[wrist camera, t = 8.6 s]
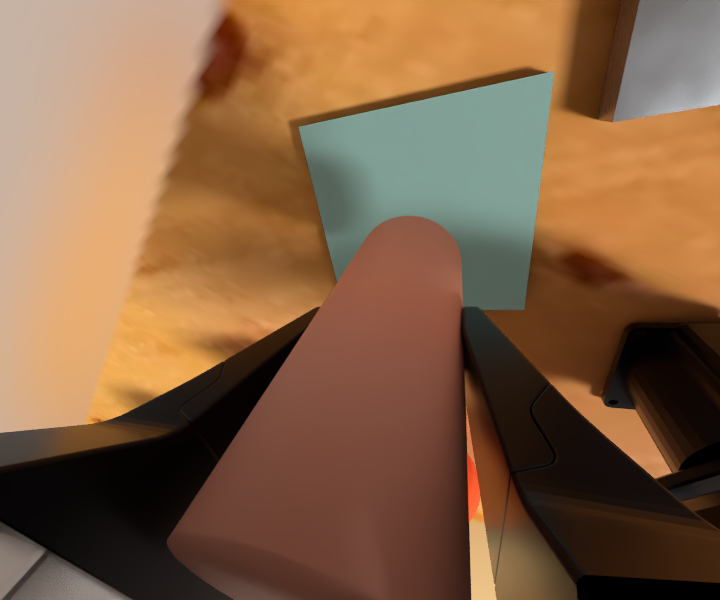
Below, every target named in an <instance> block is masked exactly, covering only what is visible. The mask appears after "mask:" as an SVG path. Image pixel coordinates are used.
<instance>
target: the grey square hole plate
mask: <svg viewBox="0 0 720 600" xmlns="http://www.w3.org/2000/svg"><path fill="white" fill-rule="evenodd" d="M715 105H720V0H621V4H620V9H619V14H618V19H617V24H616V29H615V34H614V39H613V44H612V49H611V54H610V59H609V64H608V69H607V74H606V79H605V84H604V90H603V95H602V100H601V105H600V110H599V115H598V120H601V121H608V122H616V121H623V120H629V119H635V118H641V117H647V116H653V115H659V114H666V113H672V112H678V111H684V110H690V109H696V108H702V107H709V106H715Z"/></svg>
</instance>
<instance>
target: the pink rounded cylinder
mask: <svg viewBox="0 0 720 600" xmlns="http://www.w3.org/2000/svg"><path fill="white" fill-rule="evenodd" d="M462 308H463V295H462V262H461V254H460V250H459V248H458V245H457V243H456V241H455V240H454V238H453V237H452V236H451V234H450V233H449V232H448V231H447V230H446V229H445V228H443V227H442V226H441V225H439V224H438V223H436V222H434V221H432V220H429V219H427V218H423V217H419V216H399V217H395V218H391V219H389V220H386V221H384V222H382V223H381V224H379V225H378V226H377V227H375V228H374V229H373V230H372V231H371V232H370V233H369V235H368V236H367V238H366V239H365V241H364V242H363V244H362V245H361V247H360V248H359V250H358V251H357V253H356V254H355V256H354V257H353V259H352V260H351V262H350V263H349V265H348V266H347V268H346V269H345V271H344V272H343V274H342V275H341V277H340V278H339V280H338V282H337V283H336V285H335V286H334V288H333V289H332V291H331V292H330V294H329V295H328V297H327V298H326V300H325V301H324V303H323V304H322V306H321V307H320V309H319V310H318V312H317V313H316V315H315V316H314V318H313V319H312V321H311V322H310V324H309V325H308V327H307V329H306V330H305V332H304V333H303V335H302V336H301V338H300V339H299V341H298V342H297V344H296V345H295V347H294V348H293V350H292V351H291V353H290V354H289V356H288V357H287V359H286V360H285V362H284V363H283V365H282V366H281V368H280V369H279V371H278V372H277V374H276V376H275V377H274V379H273V380H272V382H271V383H270V385H269V386H268V388H267V389H266V391H265V392H264V394H263V395H262V397H261V398H260V400H259V401H258V403H257V404H256V406H255V407H254V409H253V410H252V412H251V413H250V415H249V416H248V418H247V419H246V421H245V423H244V424H243V426H242V427H241V429H240V430H239V432H238V433H237V435H236V436H235V438H234V439H233V441H232V442H231V444H230V445H229V447H228V448H227V450H226V451H225V453H224V454H223V456H222V457H221V459H220V460H219V462H218V463H217V465H216V466H215V468H214V470H213V471H212V473H211V474H210V476H209V477H208V479H207V480H206V482H205V483H204V485H203V486H202V488H201V489H200V491H199V492H198V494H197V495H196V497H195V498H194V500H193V501H192V503H191V504H190V506H189V507H188V509H187V510H186V512H185V513H184V515H183V517H182V518H181V520H180V521H179V523H178V524H177V526H176V527H175V529H174V530H173V532H172V533H171V535H170V536H169V538H168V539H167V546H168V548H169V550H170V551H171V553H172V554H173V555H174V556H175V557H176V558H177V559H178V560H179V562H181V563H182V564H183V565H184V566H185V567H186V568H187V569H189V570H190V571H191V572H193V573H194V574H195V575H196V576H198V577H199V578H201V579H202V580H204V581H205V582H206V583H208V584H210V585H211V586H213V587H214V588H216V589H217V590H219V591H220V592H222V593H224V594H225V595H227V596H229V597H230V598H232V599H234V600H471V579H470V543H469V506H468V471H467V436H466V400H465V365H464V348H463V329H462Z"/></svg>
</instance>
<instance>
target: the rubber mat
mask: <svg viewBox="0 0 720 600" xmlns="http://www.w3.org/2000/svg"><path fill="white" fill-rule="evenodd" d="M553 78H554V71H552V72H548V73H543V74H539V75H534V76H529V77H525V78H520V79H516V80H511V81H506V82H502V83H497V84H493V85H488V86H484V87H479V88H474V89H470V90H465V91H461V92H456V93H451V94H447V95H442V96H438V97H433V98H428V99H424V100H419V101H415V102H410V103H405V104H401V105H396V106H392V107H387V108H383V109H378V110H373V111H369V112H364V113H360V114H355V115H350V116H346V117H341V118H337V119H332V120H327V121H323V122H318V123H314V124H309V125H304V126H300V127H298V128H299V132H300V136H301V140H302V144H303V148H304V152H305V156H306V160H307V164H308V168H309V172H310V176H311V180H312V184H313V188H314V192H315V196H316V200H317V204H318V208H319V212H320V216H321V220H322V225H323V229H324V233H325V237H326V241H327V245H328V249H329V253H330V257H331V261H332V265H333V269H334V273H335V277H336V281H337V282H338V280H339V278H340V277H341V275H342V274H343V272H344V271H345V269H346V268H347V266H348V265H349V263H350V262H351V260H352V259H353V257H354V256H355V254H356V253H357V251H358V250H359V248H360V247H361V245H362V244H363V242H364V241H365V239H366V238H367V236H368V235H369V233H370V232H371V231H372V230H373V229H374V228H375V227H377V226H378V225H379V224H381V223H382V222H384V221H386V220H389V219H391V218H395V217H399V216H419V217H423V218H427V219H429V220H432V221H434V222H436V223H438V224H439V225H441V226H442V227H443V228H445V229H446V230H447V231H448V232H449V233H450V234H451V236H452V237H453V238H454V240H455V241H456V243H457V245H458V248H459V250H460V254H461V262H462V295H463V307H467V306H476V307H479V308H480V309H481V310H524V309H525V301H526V293H527V285H528V277H529V269H530V261H531V253H532V245H533V237H534V229H535V221H536V213H537V205H538V197H539V189H540V181H541V174H542V166H543V158H544V150H545V142H546V134H547V126H548V118H549V110H550V102H551V94H552V86H553Z"/></svg>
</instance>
